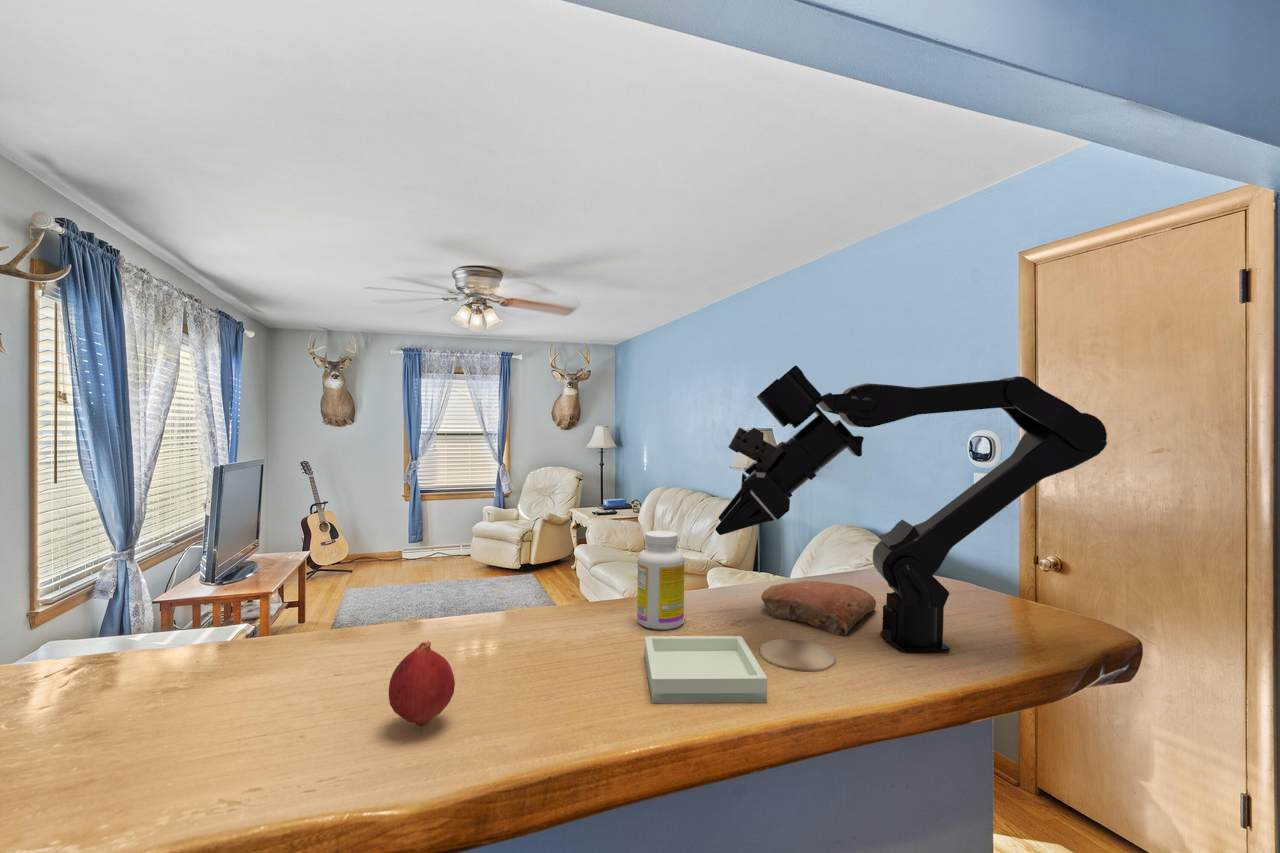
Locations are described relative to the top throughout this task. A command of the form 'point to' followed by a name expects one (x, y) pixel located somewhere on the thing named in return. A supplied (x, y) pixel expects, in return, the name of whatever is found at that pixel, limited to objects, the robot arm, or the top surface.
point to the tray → (703, 670)
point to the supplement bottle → (660, 582)
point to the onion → (421, 685)
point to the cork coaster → (797, 655)
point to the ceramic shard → (819, 604)
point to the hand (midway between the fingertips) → (719, 526)
